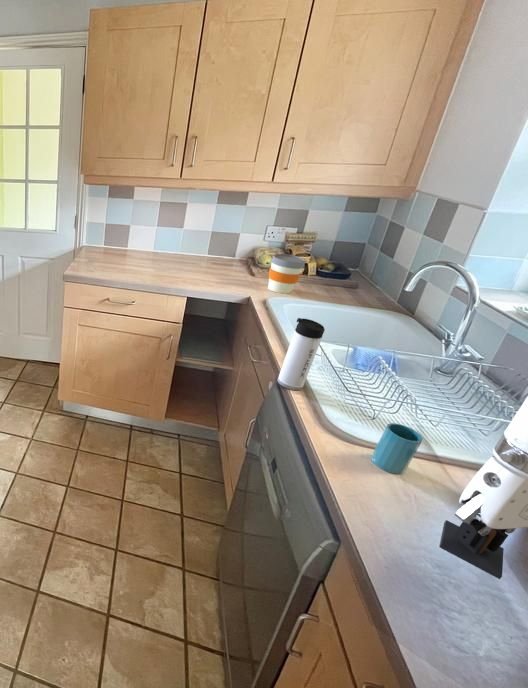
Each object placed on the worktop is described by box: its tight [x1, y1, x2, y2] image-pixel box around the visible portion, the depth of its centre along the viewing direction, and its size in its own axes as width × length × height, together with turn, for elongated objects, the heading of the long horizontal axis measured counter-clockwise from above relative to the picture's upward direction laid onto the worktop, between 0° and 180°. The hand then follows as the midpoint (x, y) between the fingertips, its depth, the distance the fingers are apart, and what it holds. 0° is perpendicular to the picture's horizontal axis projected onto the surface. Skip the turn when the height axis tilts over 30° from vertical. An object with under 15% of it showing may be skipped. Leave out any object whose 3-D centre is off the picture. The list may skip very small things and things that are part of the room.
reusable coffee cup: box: [267, 253, 306, 294], centre depth 183 cm, size 13×13×15 cm
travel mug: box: [277, 317, 326, 391], centre depth 115 cm, size 6×7×20 cm
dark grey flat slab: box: [438, 519, 505, 580], centre depth 66 cm, size 7×7×5 cm
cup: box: [370, 422, 423, 475], centre depth 90 cm, size 6×6×9 cm
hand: (474, 543), depth 66 cm, fingers closed on dark grey flat slab, 2 cm apart
